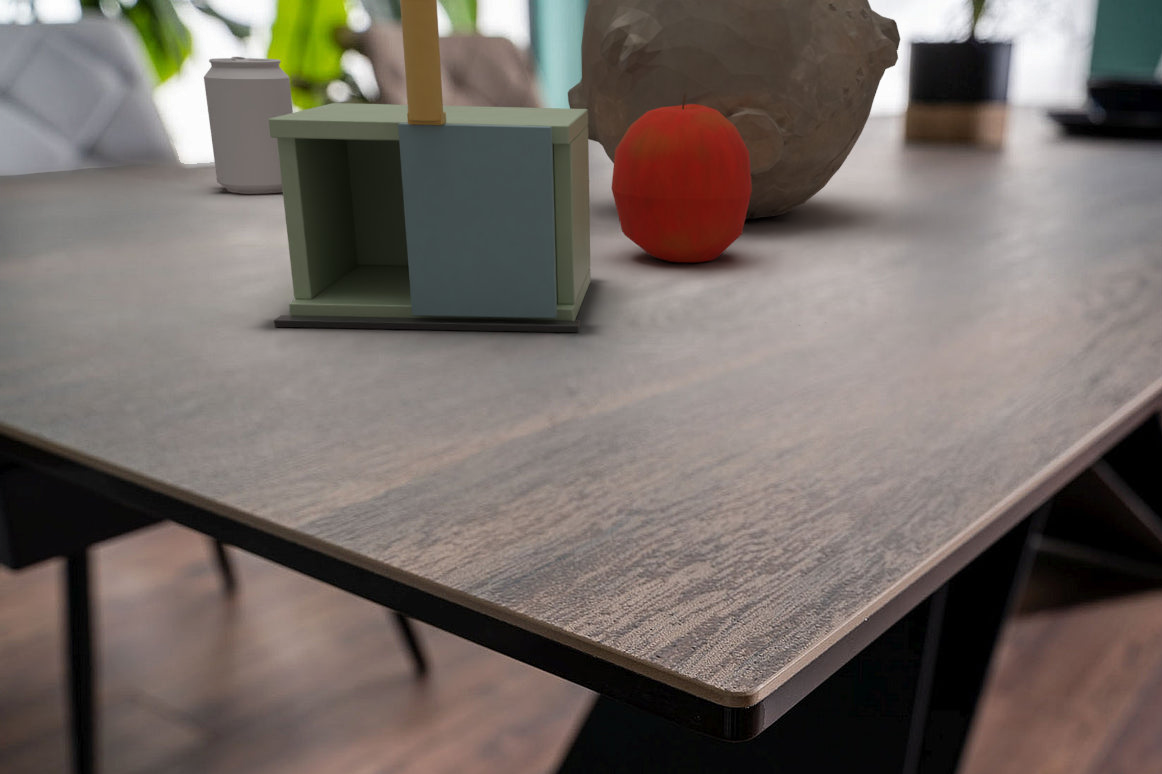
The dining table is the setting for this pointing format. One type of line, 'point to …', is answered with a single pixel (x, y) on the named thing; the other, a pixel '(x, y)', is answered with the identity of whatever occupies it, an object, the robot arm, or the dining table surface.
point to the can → (246, 121)
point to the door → (471, 198)
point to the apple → (682, 183)
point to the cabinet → (403, 216)
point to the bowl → (742, 79)
